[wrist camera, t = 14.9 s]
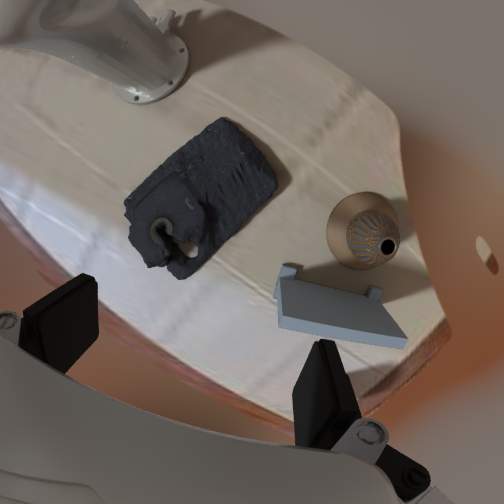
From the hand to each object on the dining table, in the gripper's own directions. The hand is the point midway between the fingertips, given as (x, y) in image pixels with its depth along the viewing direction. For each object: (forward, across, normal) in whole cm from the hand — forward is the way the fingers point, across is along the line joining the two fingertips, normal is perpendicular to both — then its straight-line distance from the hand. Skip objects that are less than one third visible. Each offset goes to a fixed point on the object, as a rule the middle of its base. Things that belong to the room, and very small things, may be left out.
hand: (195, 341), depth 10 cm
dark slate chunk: (+29, +8, -1) cm, 30 cm away
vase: (+28, -16, -3) cm, 32 cm away
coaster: (+28, -16, -3) cm, 33 cm away
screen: (+28, -14, +7) cm, 32 cm away
